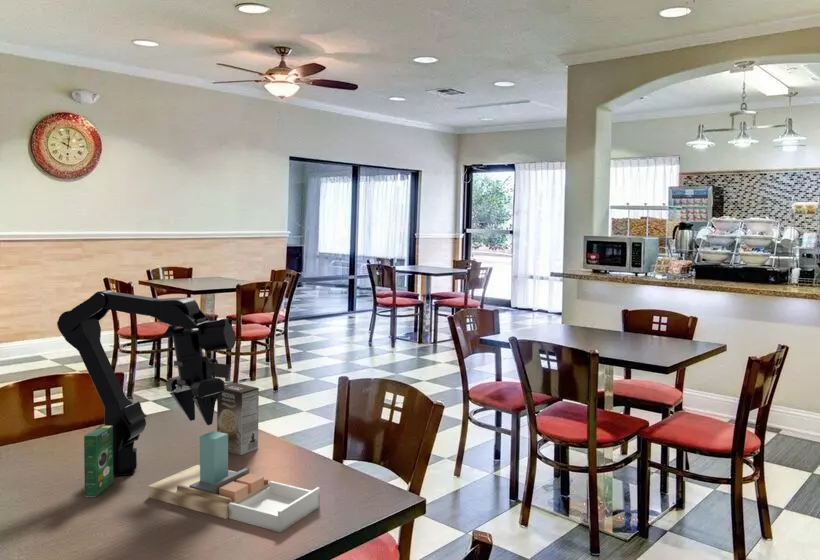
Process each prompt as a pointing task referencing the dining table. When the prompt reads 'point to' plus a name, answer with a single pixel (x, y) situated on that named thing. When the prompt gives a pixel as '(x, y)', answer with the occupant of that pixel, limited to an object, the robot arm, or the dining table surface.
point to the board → (193, 493)
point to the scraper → (215, 463)
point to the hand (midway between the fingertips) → (200, 422)
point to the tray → (276, 506)
